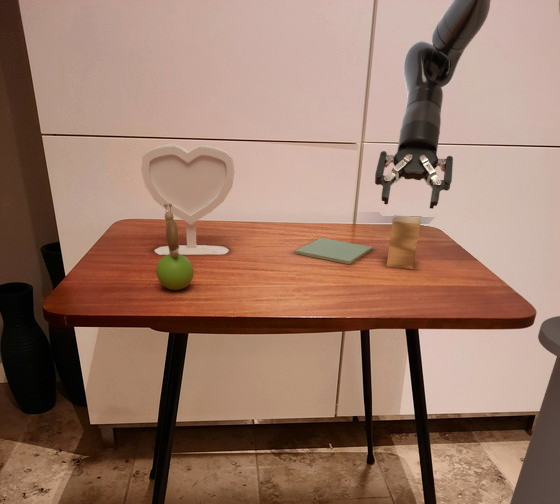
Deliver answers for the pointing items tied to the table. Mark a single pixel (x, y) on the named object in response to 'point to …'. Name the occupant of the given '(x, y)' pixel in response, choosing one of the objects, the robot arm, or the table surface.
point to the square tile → (334, 250)
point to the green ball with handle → (173, 259)
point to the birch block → (403, 241)
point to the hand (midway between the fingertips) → (408, 204)
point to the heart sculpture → (188, 186)
